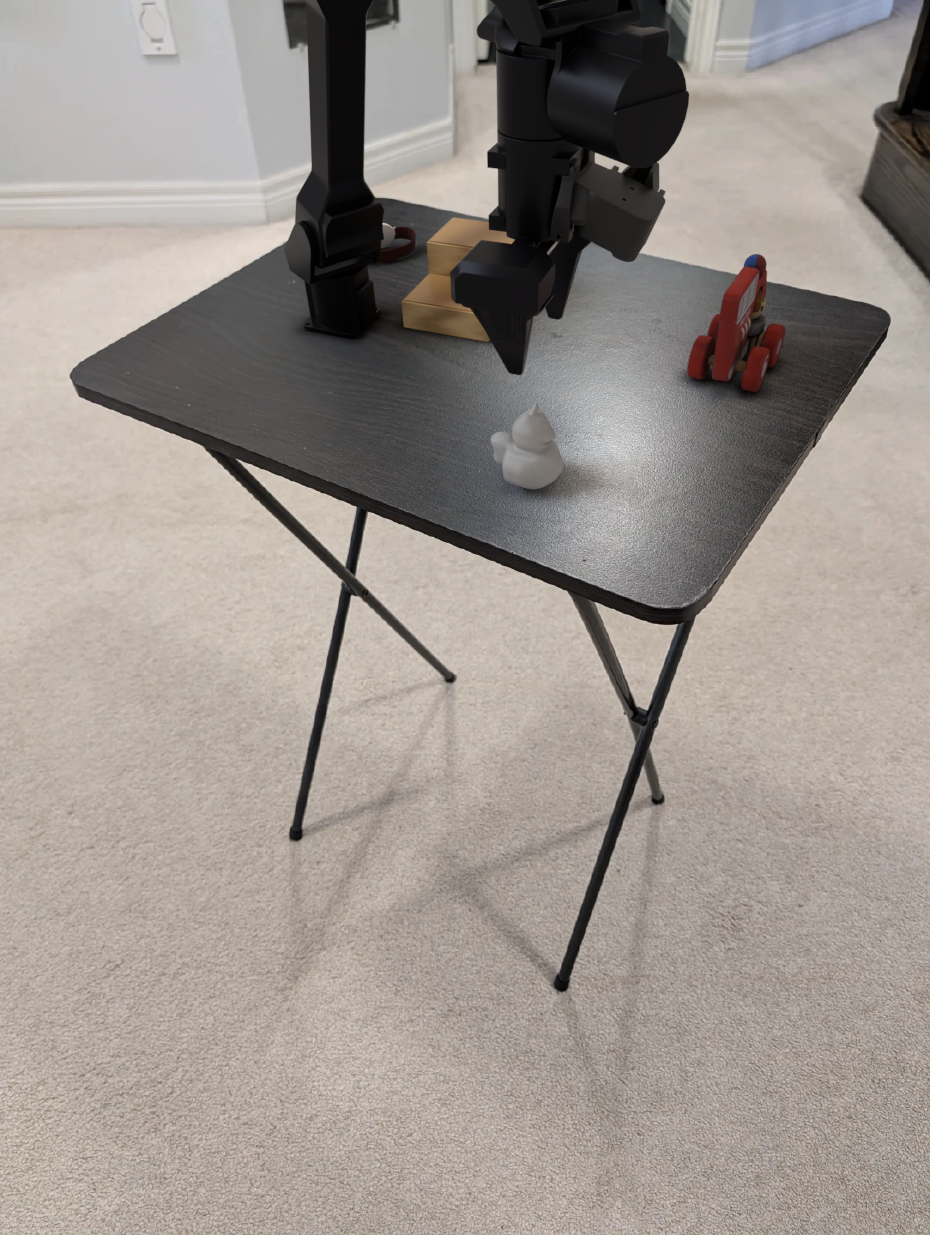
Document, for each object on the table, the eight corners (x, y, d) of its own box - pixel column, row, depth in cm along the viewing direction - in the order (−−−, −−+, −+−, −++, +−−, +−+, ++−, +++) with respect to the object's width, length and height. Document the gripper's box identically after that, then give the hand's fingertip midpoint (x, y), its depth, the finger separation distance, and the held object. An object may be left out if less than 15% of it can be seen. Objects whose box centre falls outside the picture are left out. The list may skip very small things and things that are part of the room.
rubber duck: (545, 507, 74) (548, 425, 68) (477, 485, 76) (474, 404, 71) (574, 473, 77) (578, 392, 71) (507, 452, 80) (506, 372, 74)
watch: (408, 241, 112) (406, 212, 110) (423, 255, 109) (421, 225, 107) (351, 255, 110) (347, 225, 108) (365, 269, 107) (361, 239, 105)
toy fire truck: (785, 348, 91) (810, 246, 83) (749, 408, 83) (772, 302, 76) (719, 334, 93) (737, 234, 86) (678, 391, 86) (693, 287, 78)
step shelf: (403, 327, 97) (397, 267, 92) (455, 273, 106) (452, 216, 101) (488, 342, 94) (487, 281, 89) (534, 285, 103) (535, 227, 98)
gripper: (620, 191, 50) (601, 426, 61) (693, 95, 62) (666, 307, 73) (440, 171, 54) (453, 398, 65) (542, 84, 65) (538, 288, 77)
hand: (536, 344), depth 70 cm, fingers open, 9 cm apart
